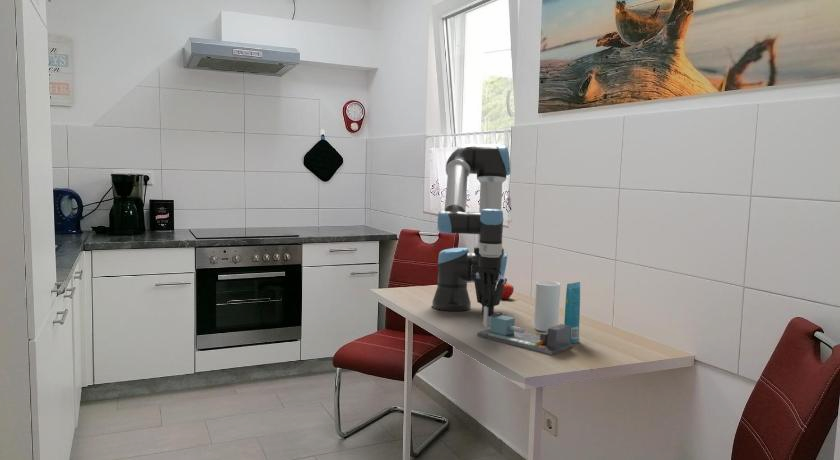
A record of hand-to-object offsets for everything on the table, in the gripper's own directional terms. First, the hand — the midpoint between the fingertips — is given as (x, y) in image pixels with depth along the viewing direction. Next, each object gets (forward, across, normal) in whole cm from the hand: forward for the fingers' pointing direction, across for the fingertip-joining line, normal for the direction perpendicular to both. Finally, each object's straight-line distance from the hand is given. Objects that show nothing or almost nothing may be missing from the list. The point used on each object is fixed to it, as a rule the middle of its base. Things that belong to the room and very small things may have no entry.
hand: (487, 324), depth 208 cm
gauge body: (+1, +9, 0) cm, 9 cm away
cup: (+3, +11, +20) cm, 23 cm away
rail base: (+3, +15, 0) cm, 15 cm away
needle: (+1, +23, -2) cm, 23 cm away
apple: (+3, -28, +50) cm, 57 cm away
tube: (+3, +25, +12) cm, 28 cm away
